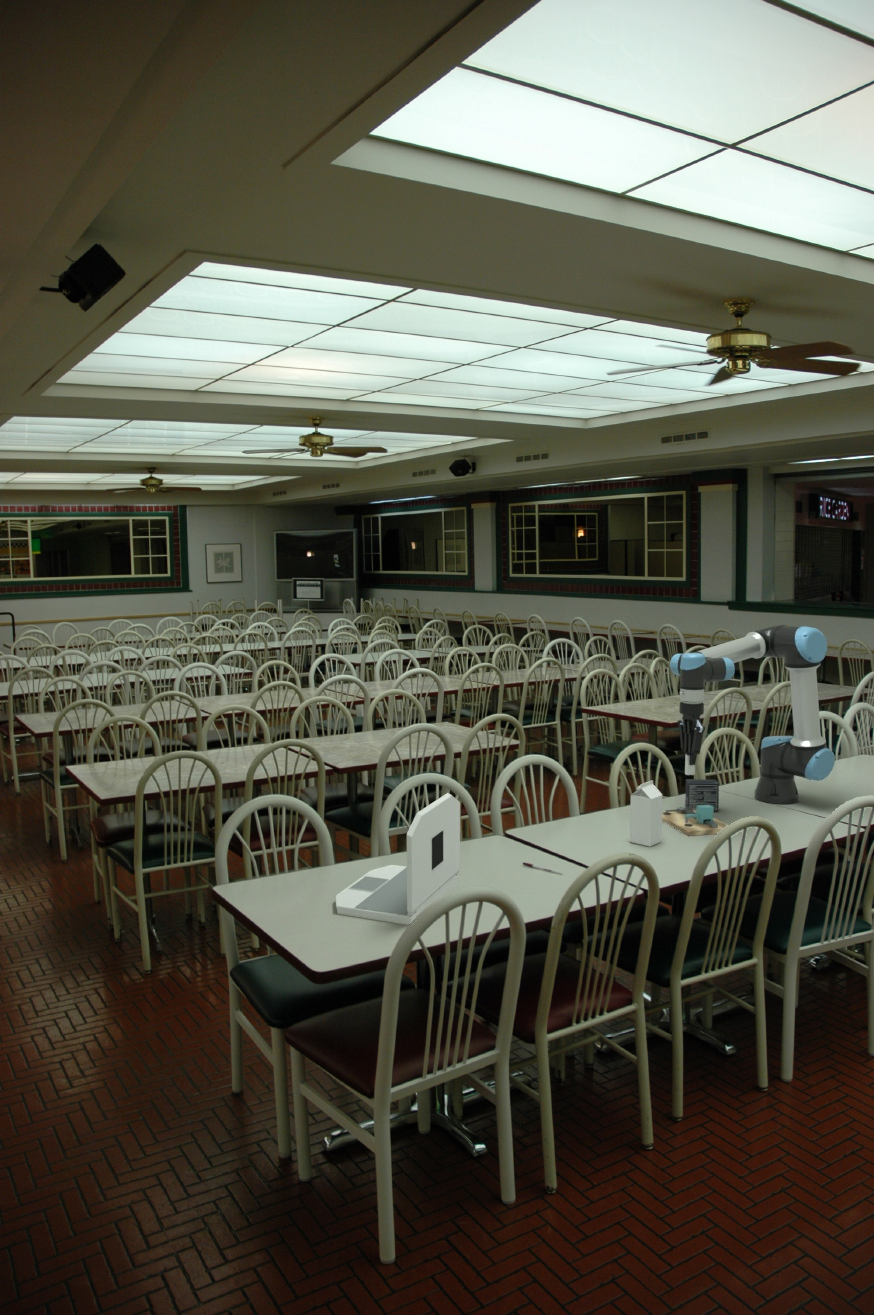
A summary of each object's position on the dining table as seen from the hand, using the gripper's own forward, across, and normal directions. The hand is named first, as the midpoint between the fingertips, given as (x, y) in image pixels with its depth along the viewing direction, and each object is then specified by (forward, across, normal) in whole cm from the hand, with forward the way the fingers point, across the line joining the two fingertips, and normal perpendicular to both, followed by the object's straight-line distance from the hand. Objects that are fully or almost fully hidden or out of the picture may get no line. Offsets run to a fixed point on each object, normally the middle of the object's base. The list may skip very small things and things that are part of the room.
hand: (689, 774), depth 298 cm
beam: (+17, -5, +4) cm, 18 cm away
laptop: (+19, +32, -104) cm, 110 cm away
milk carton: (+19, +8, -19) cm, 28 cm away
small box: (+19, -20, +17) cm, 32 cm away
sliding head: (+17, -1, +4) cm, 17 cm away
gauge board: (+18, -5, +5) cm, 20 cm away
